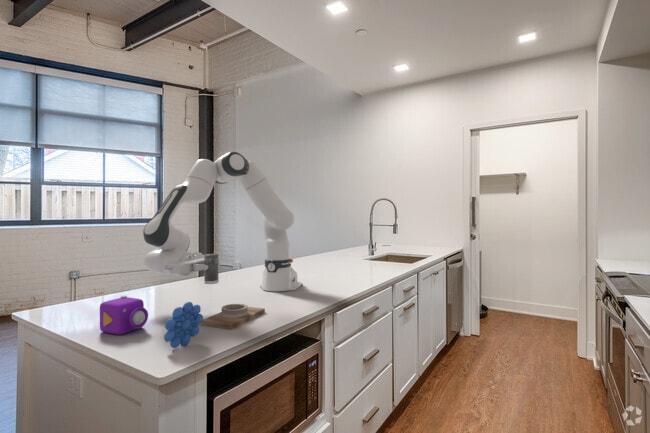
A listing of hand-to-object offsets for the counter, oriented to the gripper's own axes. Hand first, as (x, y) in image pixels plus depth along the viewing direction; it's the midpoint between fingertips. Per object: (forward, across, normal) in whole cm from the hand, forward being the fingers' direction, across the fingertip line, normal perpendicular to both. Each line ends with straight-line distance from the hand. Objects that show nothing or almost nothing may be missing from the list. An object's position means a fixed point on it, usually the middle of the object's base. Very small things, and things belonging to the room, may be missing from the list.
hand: (213, 266), depth 129 cm
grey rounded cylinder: (-1, 0, +6) cm, 6 cm away
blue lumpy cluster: (+10, -26, +18) cm, 33 cm away
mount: (+9, 0, +18) cm, 20 cm away
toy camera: (-15, -23, +18) cm, 33 cm away
